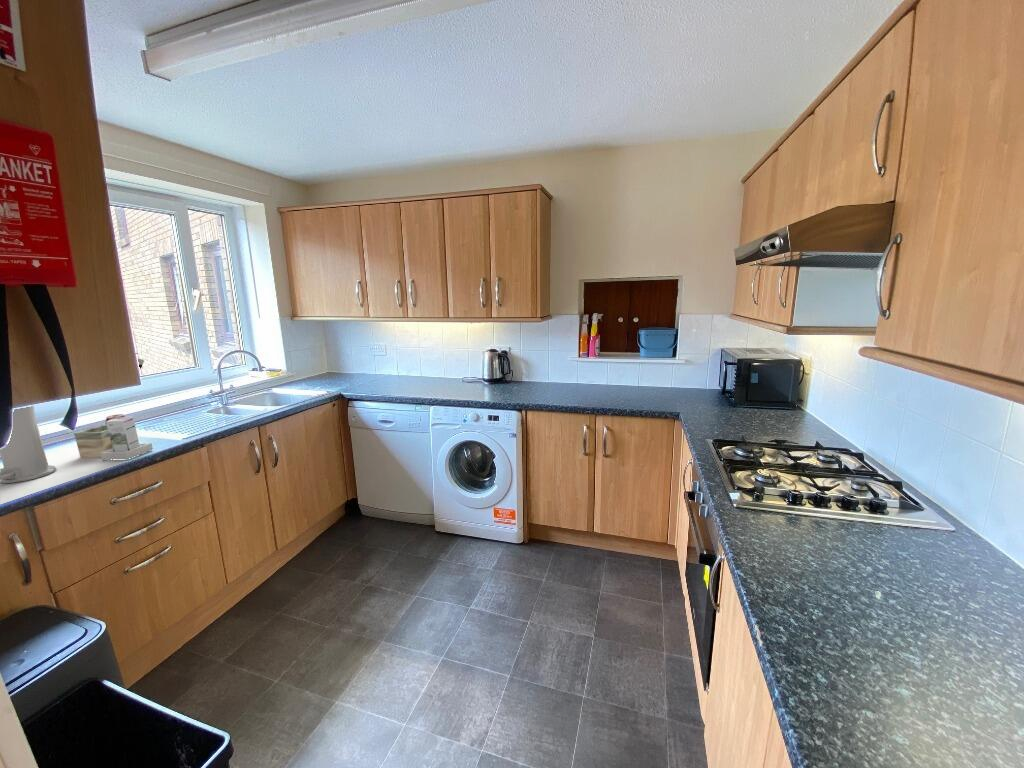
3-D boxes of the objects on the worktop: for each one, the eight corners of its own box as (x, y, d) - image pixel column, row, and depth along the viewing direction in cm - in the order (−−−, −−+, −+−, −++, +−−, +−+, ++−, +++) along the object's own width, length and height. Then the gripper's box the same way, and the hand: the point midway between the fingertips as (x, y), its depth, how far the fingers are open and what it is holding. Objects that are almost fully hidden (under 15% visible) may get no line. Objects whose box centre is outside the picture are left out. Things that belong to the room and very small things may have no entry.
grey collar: (128, 460, 154) (126, 452, 153) (102, 460, 155) (100, 452, 154) (153, 450, 164) (151, 443, 163) (128, 450, 165) (127, 443, 164)
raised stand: (104, 457, 159) (98, 432, 157) (80, 457, 159) (74, 433, 157) (130, 447, 168) (124, 424, 166) (106, 448, 169) (101, 425, 167)
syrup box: (142, 451, 163) (134, 415, 160) (131, 457, 157) (122, 419, 154) (125, 453, 162) (117, 416, 159) (114, 458, 156) (105, 421, 153)
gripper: (88, 341, 150) (98, 388, 153) (144, 338, 166) (152, 380, 169) (76, 341, 153) (86, 388, 156) (133, 338, 169) (141, 380, 172)
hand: (120, 384), depth 163 cm, fingers open, 9 cm apart
